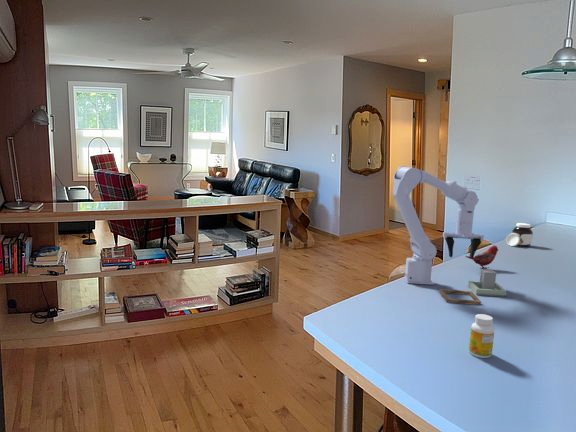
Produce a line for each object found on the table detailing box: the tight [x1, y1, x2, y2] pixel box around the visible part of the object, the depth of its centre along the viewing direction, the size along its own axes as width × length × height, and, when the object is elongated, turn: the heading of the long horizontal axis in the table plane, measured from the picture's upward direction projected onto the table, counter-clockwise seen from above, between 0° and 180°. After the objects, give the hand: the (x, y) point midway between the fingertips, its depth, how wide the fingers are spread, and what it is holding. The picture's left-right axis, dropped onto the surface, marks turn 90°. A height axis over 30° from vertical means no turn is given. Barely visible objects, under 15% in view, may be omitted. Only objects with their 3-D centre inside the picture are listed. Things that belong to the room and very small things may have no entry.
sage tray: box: [467, 280, 507, 298], centre depth 170 cm, size 10×10×2 cm
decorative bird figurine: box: [465, 245, 499, 270], centre depth 199 cm, size 3×18×10 cm, turn 112°
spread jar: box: [505, 222, 534, 248], centre depth 251 cm, size 12×11×12 cm
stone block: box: [479, 268, 497, 290], centre depth 170 cm, size 4×4×7 cm
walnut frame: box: [438, 288, 482, 305], centre depth 161 cm, size 11×11×1 cm
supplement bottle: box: [468, 313, 495, 359], centre depth 118 cm, size 5×5×10 cm
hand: (460, 257), depth 180 cm, fingers open, 7 cm apart
